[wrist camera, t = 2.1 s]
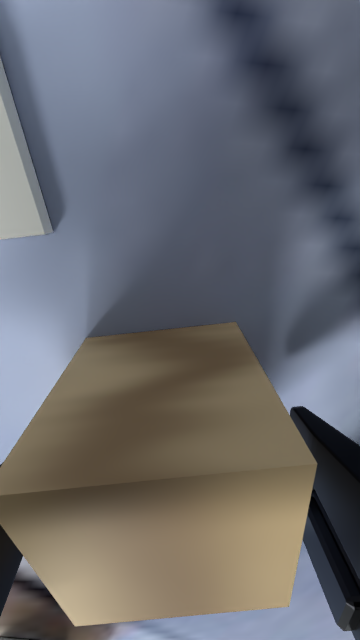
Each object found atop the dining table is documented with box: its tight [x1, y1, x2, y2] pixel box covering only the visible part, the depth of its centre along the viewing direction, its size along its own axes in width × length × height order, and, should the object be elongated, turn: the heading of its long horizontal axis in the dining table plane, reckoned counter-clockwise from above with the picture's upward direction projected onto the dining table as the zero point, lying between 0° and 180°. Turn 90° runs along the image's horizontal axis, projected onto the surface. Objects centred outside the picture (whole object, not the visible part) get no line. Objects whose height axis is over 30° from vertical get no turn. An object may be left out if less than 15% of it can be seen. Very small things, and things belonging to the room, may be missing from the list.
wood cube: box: [0, 322, 317, 626], centre depth 8 cm, size 6×6×6 cm
